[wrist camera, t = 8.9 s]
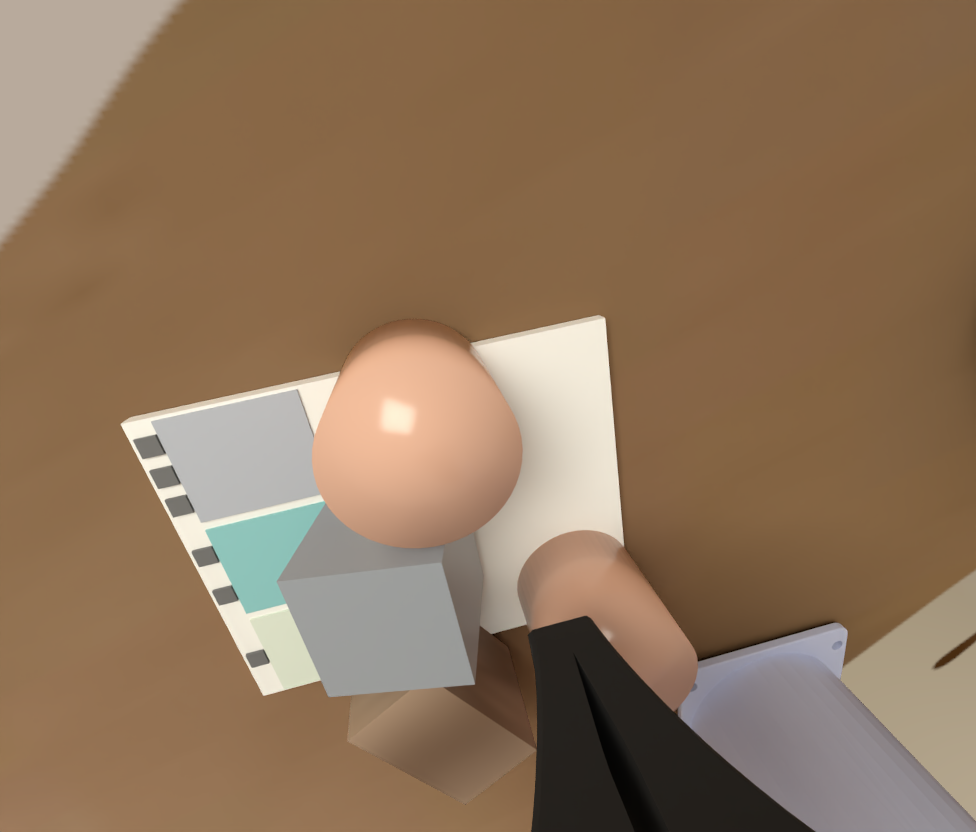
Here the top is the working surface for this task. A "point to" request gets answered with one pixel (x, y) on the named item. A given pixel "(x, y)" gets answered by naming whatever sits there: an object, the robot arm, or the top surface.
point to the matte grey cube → (384, 610)
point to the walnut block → (450, 727)
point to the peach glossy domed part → (416, 438)
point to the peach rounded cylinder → (609, 607)
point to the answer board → (297, 501)
